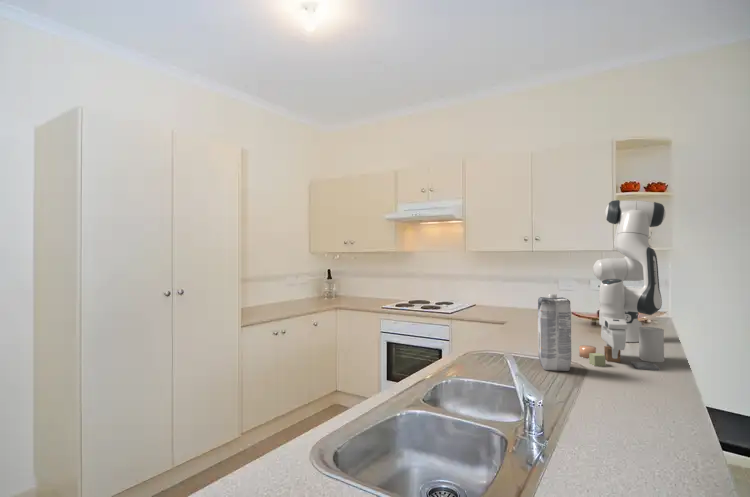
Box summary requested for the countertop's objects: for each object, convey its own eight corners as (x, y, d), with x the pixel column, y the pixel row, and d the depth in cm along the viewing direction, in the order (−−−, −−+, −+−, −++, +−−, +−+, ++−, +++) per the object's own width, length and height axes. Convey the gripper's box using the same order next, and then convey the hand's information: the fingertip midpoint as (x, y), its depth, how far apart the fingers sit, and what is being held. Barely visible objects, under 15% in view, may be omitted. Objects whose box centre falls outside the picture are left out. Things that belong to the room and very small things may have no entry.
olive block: (589, 363, 159) (589, 353, 159) (599, 363, 159) (599, 353, 159) (594, 366, 155) (594, 355, 155) (605, 366, 155) (605, 355, 155)
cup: (656, 356, 168) (656, 327, 168) (668, 362, 160) (668, 330, 160) (635, 356, 169) (634, 326, 169) (646, 362, 160) (645, 330, 160)
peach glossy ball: (578, 354, 173) (578, 344, 173) (594, 355, 171) (594, 345, 171) (581, 358, 167) (580, 348, 167) (597, 359, 165) (597, 349, 165)
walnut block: (604, 358, 166) (604, 346, 166) (617, 359, 165) (617, 346, 165) (607, 361, 162) (607, 348, 162) (620, 362, 160) (620, 349, 160)
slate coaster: (631, 363, 158) (631, 361, 158) (652, 365, 156) (652, 362, 156) (637, 368, 151) (637, 366, 151) (659, 370, 149) (659, 368, 149)
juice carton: (573, 372, 148) (572, 296, 148) (541, 371, 150) (540, 295, 150) (566, 365, 156) (566, 293, 156) (537, 364, 159) (536, 293, 159)
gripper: (596, 316, 174) (597, 349, 174) (609, 324, 154) (610, 362, 154) (613, 316, 172) (614, 350, 172) (629, 325, 153) (629, 363, 152)
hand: (612, 356), depth 163 cm, fingers closed on walnut block, 4 cm apart
